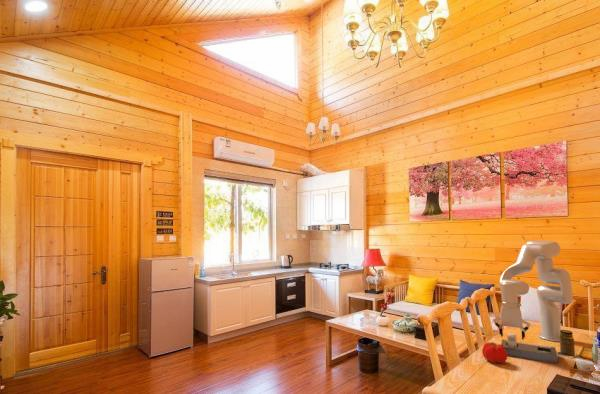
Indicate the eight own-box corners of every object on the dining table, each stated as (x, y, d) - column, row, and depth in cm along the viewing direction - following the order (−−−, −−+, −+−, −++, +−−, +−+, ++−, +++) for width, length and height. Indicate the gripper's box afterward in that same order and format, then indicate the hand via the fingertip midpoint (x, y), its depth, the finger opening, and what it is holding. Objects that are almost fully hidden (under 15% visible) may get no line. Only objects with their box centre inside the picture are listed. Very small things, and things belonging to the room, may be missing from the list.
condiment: (578, 355, 178) (576, 331, 180) (572, 358, 174) (570, 334, 175) (561, 350, 184) (560, 328, 186) (555, 354, 180) (553, 330, 181)
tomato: (510, 367, 163) (509, 348, 164) (484, 364, 166) (483, 345, 167) (505, 359, 173) (504, 341, 173) (481, 356, 176) (480, 339, 177)
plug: (508, 350, 185) (507, 333, 186) (517, 351, 183) (516, 334, 184) (508, 353, 181) (507, 335, 182) (517, 354, 179) (516, 337, 180)
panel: (502, 346, 191) (502, 338, 191) (555, 355, 178) (555, 346, 178) (501, 354, 179) (500, 345, 180) (557, 364, 166) (557, 355, 166)
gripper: (529, 305, 183) (531, 338, 182) (492, 302, 193) (494, 333, 191) (529, 308, 177) (531, 342, 175) (491, 304, 186) (493, 336, 185)
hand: (512, 337), depth 183 cm, fingers open, 9 cm apart
